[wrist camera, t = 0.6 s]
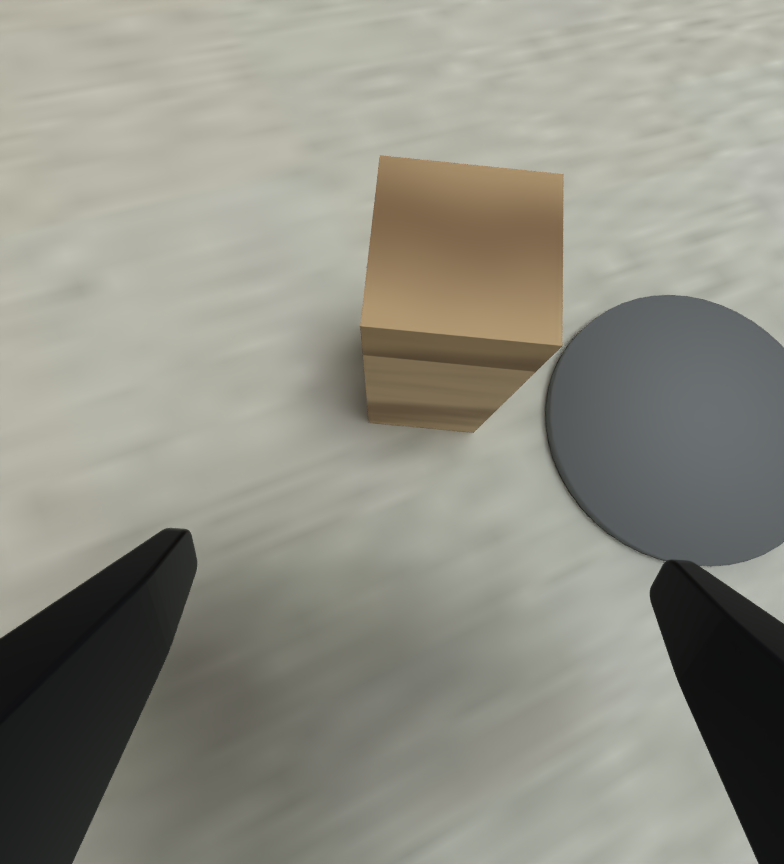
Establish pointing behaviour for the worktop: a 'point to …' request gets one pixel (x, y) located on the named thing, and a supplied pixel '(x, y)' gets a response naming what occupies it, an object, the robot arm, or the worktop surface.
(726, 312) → the mat
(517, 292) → the tan wooden block
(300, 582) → the worktop surface
